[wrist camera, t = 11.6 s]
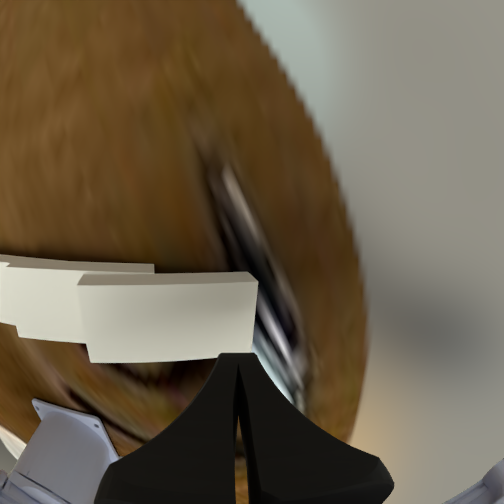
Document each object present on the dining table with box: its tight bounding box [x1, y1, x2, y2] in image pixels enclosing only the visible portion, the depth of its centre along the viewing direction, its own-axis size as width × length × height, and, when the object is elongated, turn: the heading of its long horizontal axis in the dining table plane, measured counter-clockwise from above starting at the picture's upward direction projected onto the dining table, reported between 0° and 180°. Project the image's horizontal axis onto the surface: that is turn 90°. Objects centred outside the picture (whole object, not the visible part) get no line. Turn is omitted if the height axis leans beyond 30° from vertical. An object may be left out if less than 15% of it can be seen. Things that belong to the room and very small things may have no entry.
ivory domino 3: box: [77, 272, 258, 363], centre depth 14 cm, size 4×2×9 cm
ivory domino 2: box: [6, 259, 154, 343], centre depth 14 cm, size 4×2×9 cm
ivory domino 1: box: [0, 254, 63, 325], centre depth 13 cm, size 4×2×9 cm
